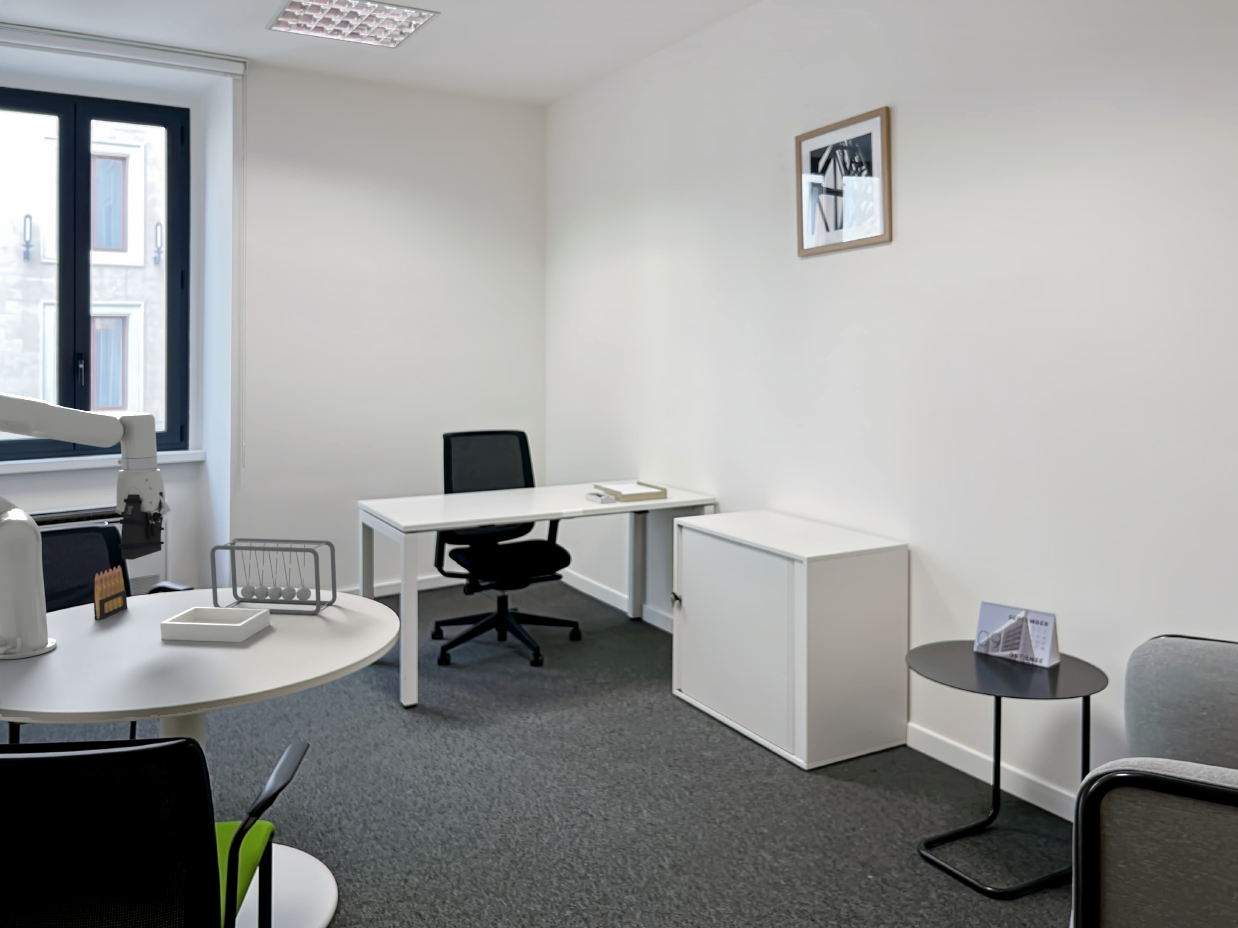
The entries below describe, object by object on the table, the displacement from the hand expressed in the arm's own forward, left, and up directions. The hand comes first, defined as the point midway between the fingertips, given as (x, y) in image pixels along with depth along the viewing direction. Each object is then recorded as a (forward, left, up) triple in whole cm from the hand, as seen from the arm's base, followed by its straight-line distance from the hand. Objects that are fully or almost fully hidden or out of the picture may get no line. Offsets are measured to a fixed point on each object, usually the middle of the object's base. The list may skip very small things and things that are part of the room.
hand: (144, 538), depth 221 cm
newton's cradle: (+22, -21, -23) cm, 39 cm away
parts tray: (+1, -17, -23) cm, 29 cm away
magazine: (0, 0, -4) cm, 4 cm away
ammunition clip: (+12, +19, -23) cm, 32 cm away
